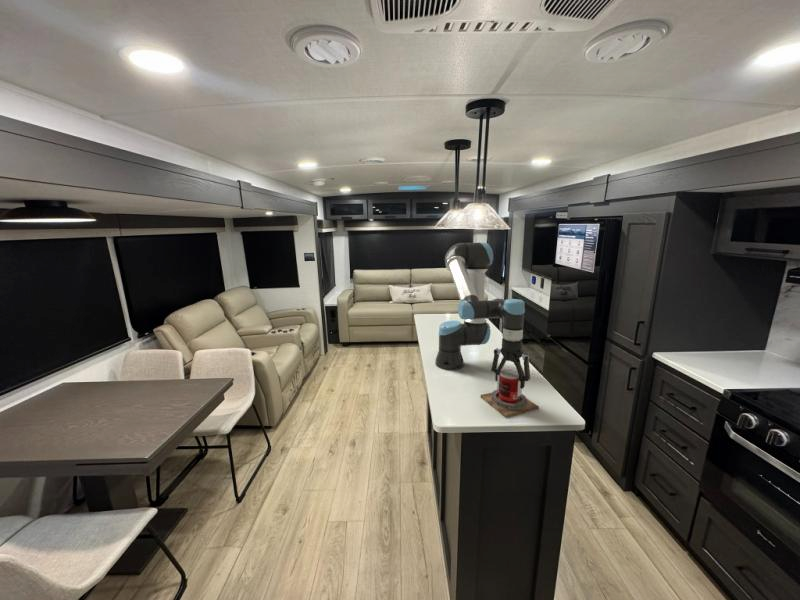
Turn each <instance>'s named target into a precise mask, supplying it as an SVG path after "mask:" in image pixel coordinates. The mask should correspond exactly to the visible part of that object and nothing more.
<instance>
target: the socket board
mask: <svg viewBox="0 0 800 600" xmlns="http://www.w3.org/2000/svg"><path fill="white" fill-rule="evenodd" d="M480 399H482V400H483V401H484V402H485V403H487V404H488V405H489V406H491V407H492V408H493V409H494V411H497V412H498V413H499V414H500V415H501V416H503V418H506V419H507V418H508V417H513V416H516V415H517V416H518V415H521V414H526V413H528V412H529V413H530V412H533V411H536V410H539V408H540V407H539V406H540V405H538V404H536V403H534V402H533V401H532V400H530V399H528V398H527V397H526V395H524V394H523V393H521V395H520V396H519V399H518V401H517V402H514V403H508V402H504V401H502V400H501V399H500V397H499V390H497V389H495V390H493V391H492V392H487V393H483V394H480Z"/></svg>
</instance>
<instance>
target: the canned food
mask: <svg viewBox="0 0 800 600" xmlns="http://www.w3.org/2000/svg"><path fill="white" fill-rule="evenodd" d="M519 380H520V377H519V375H518V372H517V370H514V369H502V370H501V372H500V385H499V397H500V399H501V400H502V401H504V402H508V403H514V402H517V401H518V399H519V396H517V393H518V381H519Z"/></svg>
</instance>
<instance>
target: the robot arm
mask: <svg viewBox="0 0 800 600" xmlns="http://www.w3.org/2000/svg"><path fill="white" fill-rule="evenodd" d="M493 261H494V253H493V248H492V247H491V246H490V244H489V243H487V242H459V243H456V244H453V245H452V246H450V248H449V249H448V250H447V252H446V253H445V256H444V265H445V267H446V269H447V271H448V272H449V273H450V275H451V279H452V281H453V284H454V286H455V289H456V293H457V296H458V299H459V302H458V306H457V312H458V313H457V314H458V317H459V318H460V320H463V323H462V322H461V321H459V320H448V321H444V322H442V323H441V324H440V325H439V326H438V327H439V328H438V351H437V354H436V357H435V360H434V361H435V366H436V367H438V368H440V369H442V370H443V369H444V370H448V371H451V370H459V369H461V368H463V367H464V365H465V363H464V358H463V354H462V352H461V350H462V349H461V348H462V347H463V346H480V345H485V344H487V343H488V342H489V340H490V338H491V327H490V324H489V323H488V322H487V320H488V319H501V320H502V333H501V335H502V339H501V348H498V347H497V348H495V349H493V359H492V364H491V369H490V371H491V372H492V373H494V374H495V377H494V378H495V382H497V384H496V390H499V385H500V372H501V371H502V370H503V368H504V366H505V364H506V362H507V361H508V362H512V363H513V364H514V366H515V368H516V371H517V372H518V375H519V377H520V380H519V381H518V393H517V396H520V395H521V394H523V393H522V392H523V391H522V390H523V389H524V388H525V386H526V382H529V380H530V379H531V372H530V357H531V355H529V354H527V355H526V354H524V353H523V338H524V322H525V313H526V308H525V302H524V300H522V299H518V298H507V299H503V298H498V297H497V298H493V299H492V300H491V299H490V300H485V289H486V288H485V287H486V286H485V285H486V272H487V271H488V270H489V266H491V265H492V264H493ZM486 319H487V320H486ZM500 354H501V355H502V359H501V361H500V363H499V357H500ZM521 358H522V360H523V365H522V364H521ZM498 363H499V364H498Z"/></svg>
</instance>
